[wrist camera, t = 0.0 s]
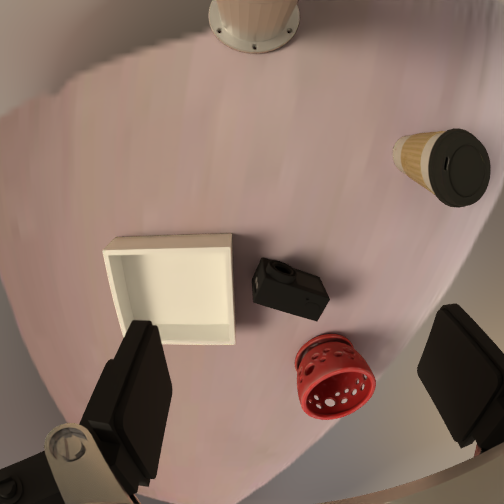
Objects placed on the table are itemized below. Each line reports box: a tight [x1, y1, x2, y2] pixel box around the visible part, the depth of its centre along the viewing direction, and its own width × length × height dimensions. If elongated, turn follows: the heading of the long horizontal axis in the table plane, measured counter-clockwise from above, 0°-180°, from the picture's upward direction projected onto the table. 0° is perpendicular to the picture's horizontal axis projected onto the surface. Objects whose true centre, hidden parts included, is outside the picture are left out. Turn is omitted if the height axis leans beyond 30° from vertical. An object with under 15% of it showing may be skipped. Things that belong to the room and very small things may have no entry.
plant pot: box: [295, 334, 376, 420], centre depth 51 cm, size 13×13×12 cm
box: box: [102, 233, 236, 345], centre depth 47 cm, size 17×19×6 cm
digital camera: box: [252, 258, 330, 321], centre depth 46 cm, size 10×5×7 cm, turn 69°
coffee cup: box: [393, 129, 490, 207], centre depth 35 cm, size 10×10×15 cm
